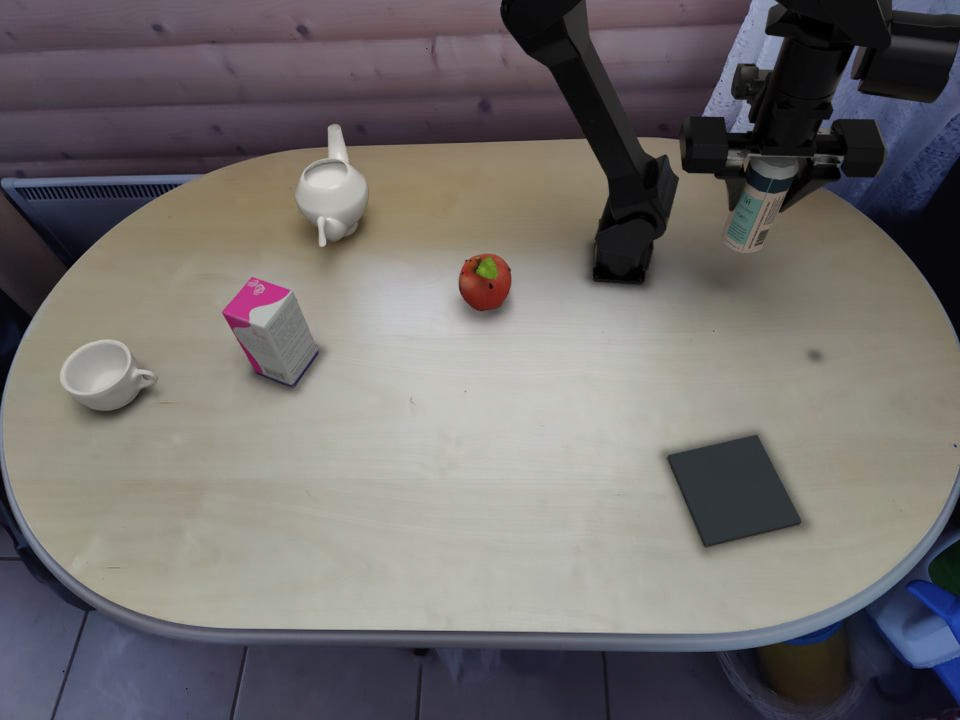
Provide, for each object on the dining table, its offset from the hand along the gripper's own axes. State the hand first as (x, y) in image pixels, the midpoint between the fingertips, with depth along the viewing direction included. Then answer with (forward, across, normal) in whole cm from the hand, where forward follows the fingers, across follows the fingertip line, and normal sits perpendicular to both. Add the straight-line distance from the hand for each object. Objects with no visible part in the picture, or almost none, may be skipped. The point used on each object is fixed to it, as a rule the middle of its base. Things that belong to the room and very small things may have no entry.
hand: (754, 209), depth 74 cm
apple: (+13, +29, +4) cm, 33 cm away
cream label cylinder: (+5, 0, 0) cm, 5 cm away
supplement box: (+13, +53, +15) cm, 56 cm away
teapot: (+13, +51, -8) cm, 53 cm away
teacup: (+13, +71, +20) cm, 75 cm away
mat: (+13, +2, +27) cm, 30 cm away
